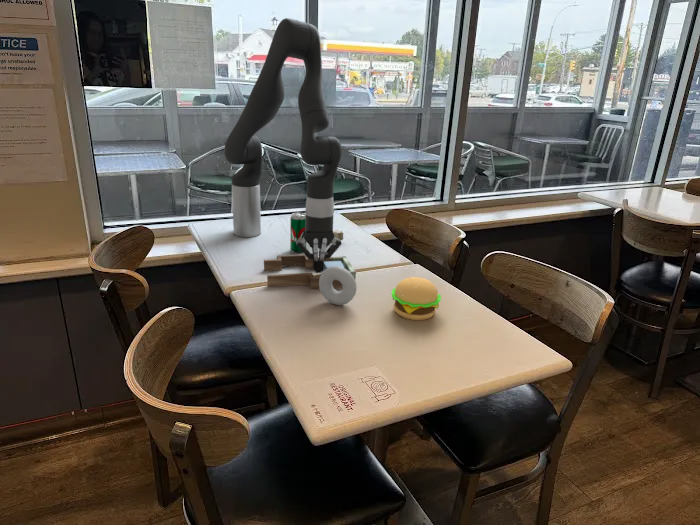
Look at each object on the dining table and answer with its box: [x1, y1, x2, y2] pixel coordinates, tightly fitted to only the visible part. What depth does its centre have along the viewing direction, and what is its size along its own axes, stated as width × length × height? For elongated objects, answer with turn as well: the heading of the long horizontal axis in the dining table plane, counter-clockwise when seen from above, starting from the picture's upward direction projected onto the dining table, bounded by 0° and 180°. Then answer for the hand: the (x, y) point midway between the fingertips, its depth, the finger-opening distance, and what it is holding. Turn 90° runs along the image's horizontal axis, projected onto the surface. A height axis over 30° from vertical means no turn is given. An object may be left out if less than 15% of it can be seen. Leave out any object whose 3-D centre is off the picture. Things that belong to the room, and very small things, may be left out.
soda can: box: [289, 212, 307, 254], centre depth 155 cm, size 5×5×12 cm
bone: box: [330, 229, 344, 244], centre depth 164 cm, size 9×6×10 cm
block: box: [322, 261, 345, 272], centre depth 140 cm, size 5×5×4 cm
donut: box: [319, 266, 357, 306], centre depth 122 cm, size 10×4×10 cm, turn 65°
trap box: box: [263, 253, 357, 290], centre depth 139 cm, size 18×24×3 cm
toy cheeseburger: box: [390, 276, 442, 321], centre depth 120 cm, size 12×12×9 cm
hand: (318, 271), depth 139 cm, fingers closed
